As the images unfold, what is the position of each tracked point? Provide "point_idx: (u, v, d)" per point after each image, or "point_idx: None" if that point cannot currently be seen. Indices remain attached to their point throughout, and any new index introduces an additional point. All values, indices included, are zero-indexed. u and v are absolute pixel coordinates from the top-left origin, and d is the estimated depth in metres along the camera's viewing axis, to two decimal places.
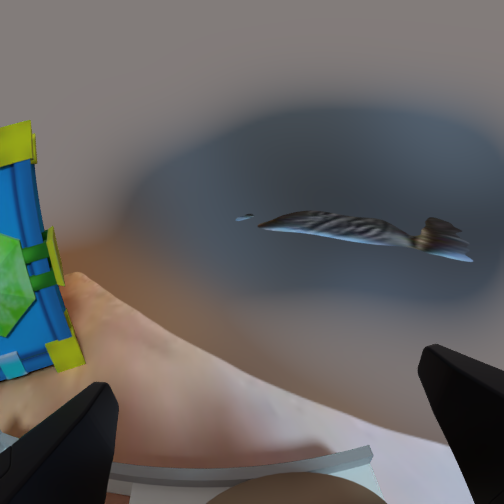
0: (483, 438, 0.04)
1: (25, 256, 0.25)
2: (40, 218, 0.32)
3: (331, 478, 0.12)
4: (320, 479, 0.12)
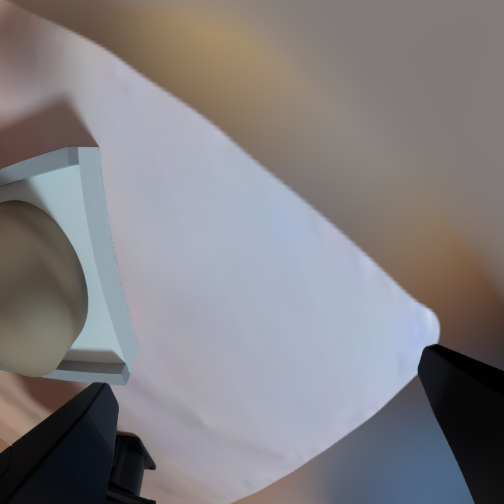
0: (483, 438, 0.04)
1: None
2: None
3: (1, 223, 0.11)
4: None
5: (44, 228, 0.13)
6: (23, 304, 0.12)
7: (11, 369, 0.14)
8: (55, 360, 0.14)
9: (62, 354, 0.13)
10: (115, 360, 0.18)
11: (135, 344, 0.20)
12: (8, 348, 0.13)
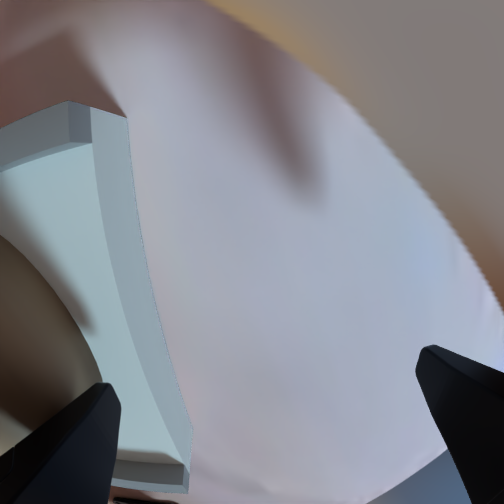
0: (481, 439, 0.04)
1: None
2: None
3: None
4: None
5: (10, 285, 0.06)
6: None
7: None
8: None
9: None
10: (167, 461, 0.10)
11: (188, 427, 0.13)
12: None
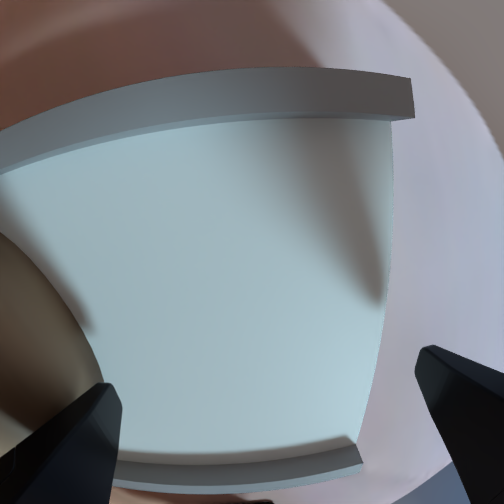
0: (480, 440, 0.04)
1: None
2: None
3: None
4: None
5: (15, 288, 0.06)
6: None
7: None
8: None
9: None
10: (341, 445, 0.11)
11: None
12: None
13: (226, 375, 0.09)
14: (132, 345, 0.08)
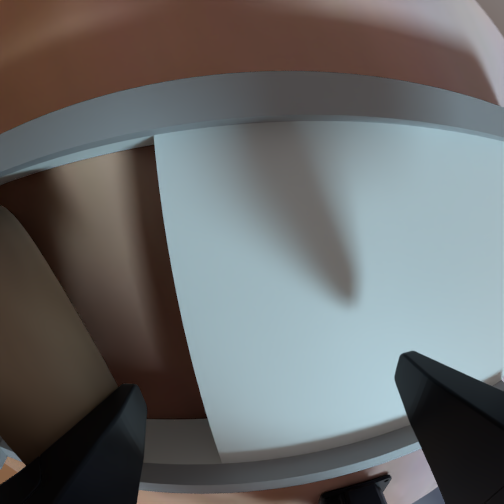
0: (458, 452, 0.04)
1: None
2: None
3: None
4: None
5: (14, 303, 0.05)
6: None
7: None
8: None
9: None
10: (495, 381, 0.11)
11: None
12: None
13: (478, 320, 0.09)
14: (439, 303, 0.09)
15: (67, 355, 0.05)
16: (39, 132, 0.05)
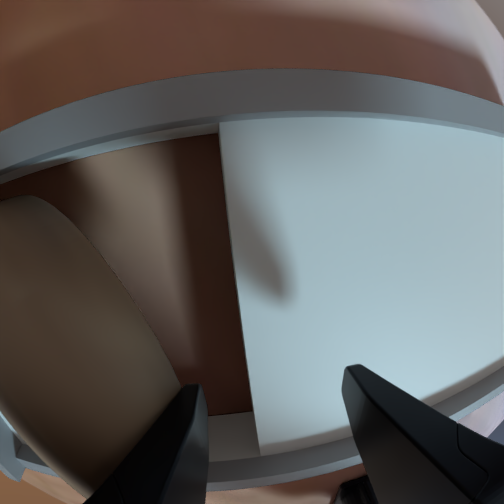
0: (396, 480, 0.04)
1: None
2: None
3: None
4: None
5: (70, 303, 0.05)
6: (37, 445, 0.05)
7: (43, 461, 0.08)
8: None
9: None
10: None
11: None
12: (34, 449, 0.07)
13: (493, 301, 0.10)
14: (463, 285, 0.09)
15: (134, 358, 0.05)
16: (98, 110, 0.05)
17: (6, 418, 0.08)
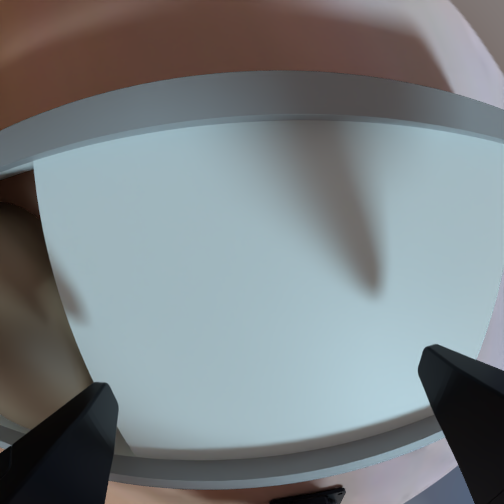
0: (483, 438, 0.04)
1: None
2: None
3: None
4: None
5: (45, 252, 0.09)
6: (17, 356, 0.08)
7: (4, 415, 0.09)
8: None
9: None
10: None
11: None
12: (0, 396, 0.09)
13: (404, 343, 0.09)
14: (337, 323, 0.09)
15: None
16: None
17: None
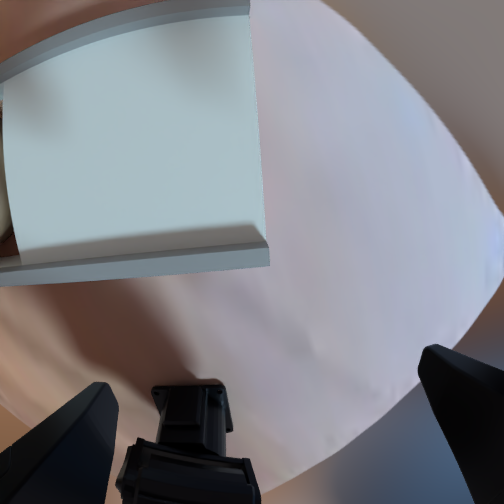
0: (483, 438, 0.04)
1: None
2: None
3: None
4: None
5: None
6: None
7: None
8: None
9: None
10: (252, 238, 0.16)
11: None
12: None
13: (161, 145, 0.14)
14: (111, 129, 0.14)
15: None
16: None
17: None
